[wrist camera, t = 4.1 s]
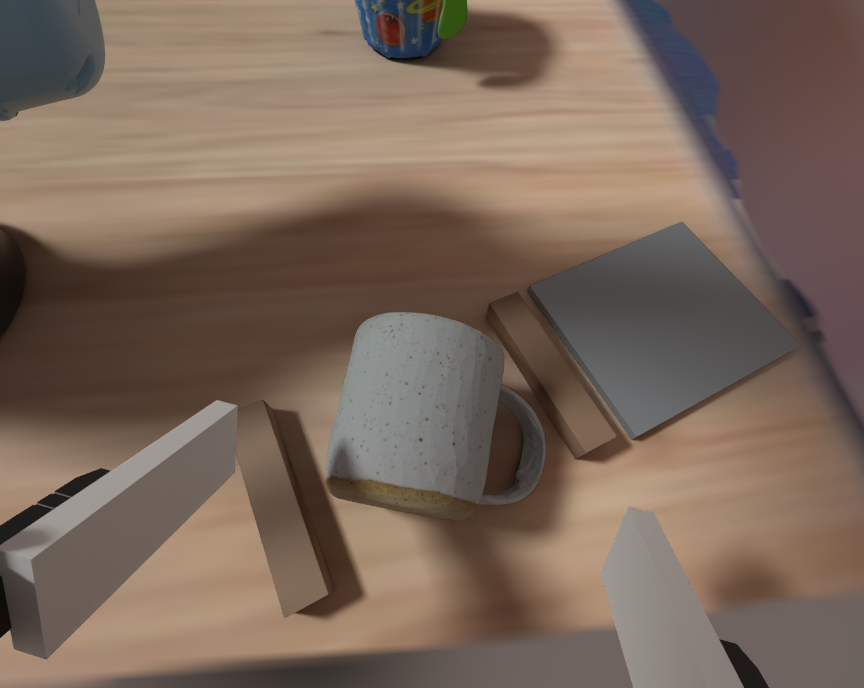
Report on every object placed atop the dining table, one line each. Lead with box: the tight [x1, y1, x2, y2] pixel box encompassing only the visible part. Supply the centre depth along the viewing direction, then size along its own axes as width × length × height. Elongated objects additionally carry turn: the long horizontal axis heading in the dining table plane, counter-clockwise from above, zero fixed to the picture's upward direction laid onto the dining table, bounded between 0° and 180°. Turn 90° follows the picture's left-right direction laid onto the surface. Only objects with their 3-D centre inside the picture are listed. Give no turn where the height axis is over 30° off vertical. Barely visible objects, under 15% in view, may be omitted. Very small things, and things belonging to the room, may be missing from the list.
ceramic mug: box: [326, 312, 546, 521], centre depth 20 cm, size 11×8×8 cm
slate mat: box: [528, 222, 801, 440], centre depth 27 cm, size 11×13×1 cm
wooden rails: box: [236, 292, 617, 618], centre depth 23 cm, size 10×18×2 cm, turn 116°
